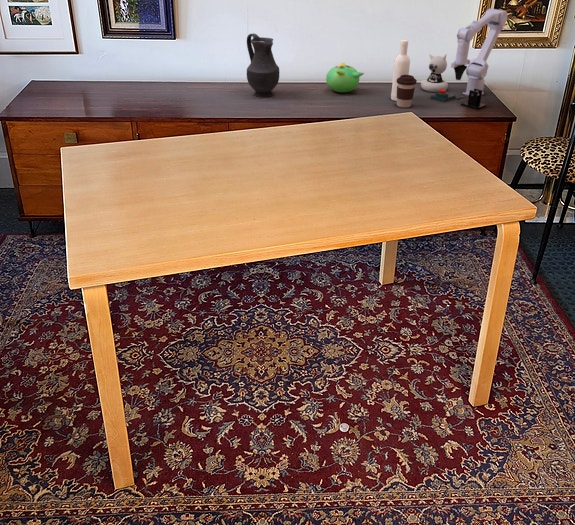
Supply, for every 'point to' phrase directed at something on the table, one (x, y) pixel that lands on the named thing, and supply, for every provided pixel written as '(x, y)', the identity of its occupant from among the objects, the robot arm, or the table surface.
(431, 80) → the decorative figurine
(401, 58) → the bottle
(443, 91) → the stop button
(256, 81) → the pitcher
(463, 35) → the robot arm
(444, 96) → the button box
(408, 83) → the coffee cup
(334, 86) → the toy bird
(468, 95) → the lever
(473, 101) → the bracket
